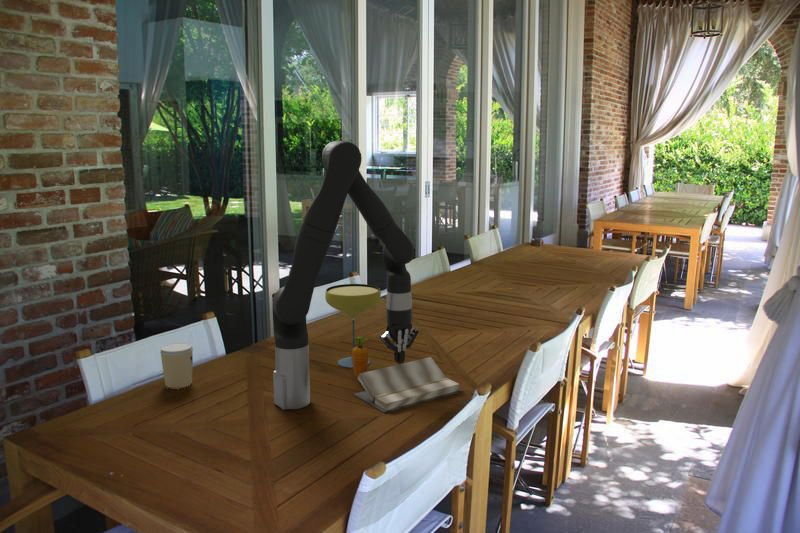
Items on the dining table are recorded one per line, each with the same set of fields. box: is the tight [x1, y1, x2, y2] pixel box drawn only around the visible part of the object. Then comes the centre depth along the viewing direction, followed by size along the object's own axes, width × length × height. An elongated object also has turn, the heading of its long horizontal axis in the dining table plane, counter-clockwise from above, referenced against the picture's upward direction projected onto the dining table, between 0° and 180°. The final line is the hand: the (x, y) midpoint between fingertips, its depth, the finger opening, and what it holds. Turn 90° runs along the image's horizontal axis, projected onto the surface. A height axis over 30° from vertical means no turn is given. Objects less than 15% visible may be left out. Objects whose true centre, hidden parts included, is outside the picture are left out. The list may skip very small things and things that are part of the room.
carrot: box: [351, 334, 369, 383], centre depth 202 cm, size 5×5×15 cm
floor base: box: [353, 377, 464, 414], centre depth 195 cm, size 28×16×3 cm, turn 125°
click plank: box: [357, 356, 447, 401], centre depth 197 cm, size 26×9×2 cm
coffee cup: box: [159, 342, 194, 388], centre depth 200 cm, size 9×9×12 cm
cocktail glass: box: [324, 283, 382, 369], centre depth 219 cm, size 18×18×25 cm
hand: (399, 362), depth 198 cm, fingers closed
